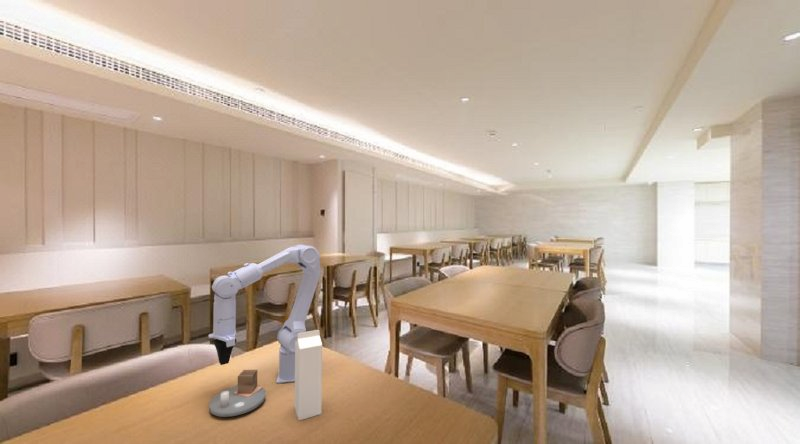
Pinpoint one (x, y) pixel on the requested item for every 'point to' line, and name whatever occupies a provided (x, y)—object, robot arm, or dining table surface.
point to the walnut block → (247, 381)
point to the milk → (308, 374)
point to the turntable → (235, 401)
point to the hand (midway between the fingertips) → (224, 363)
